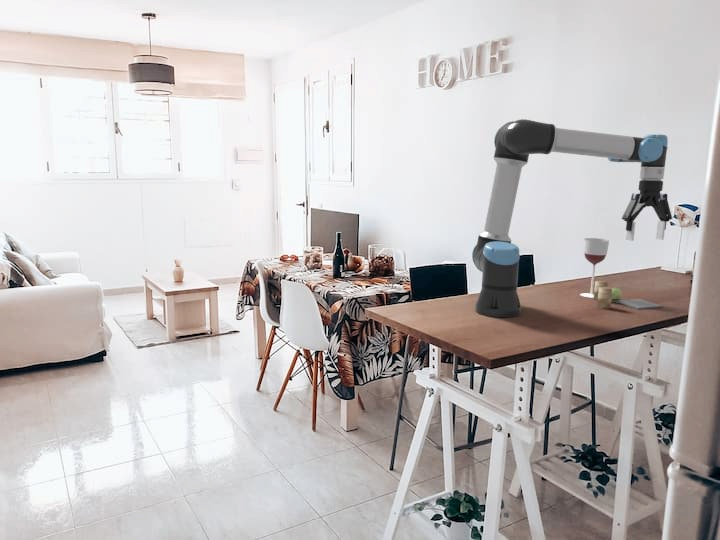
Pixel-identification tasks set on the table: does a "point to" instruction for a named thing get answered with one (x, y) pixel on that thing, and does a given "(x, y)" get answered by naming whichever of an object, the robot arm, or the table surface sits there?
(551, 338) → the table surface
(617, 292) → the lime
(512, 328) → the table surface
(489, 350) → the table surface
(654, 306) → the coaster
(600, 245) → the wineglass
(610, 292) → the cork
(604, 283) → the cork
